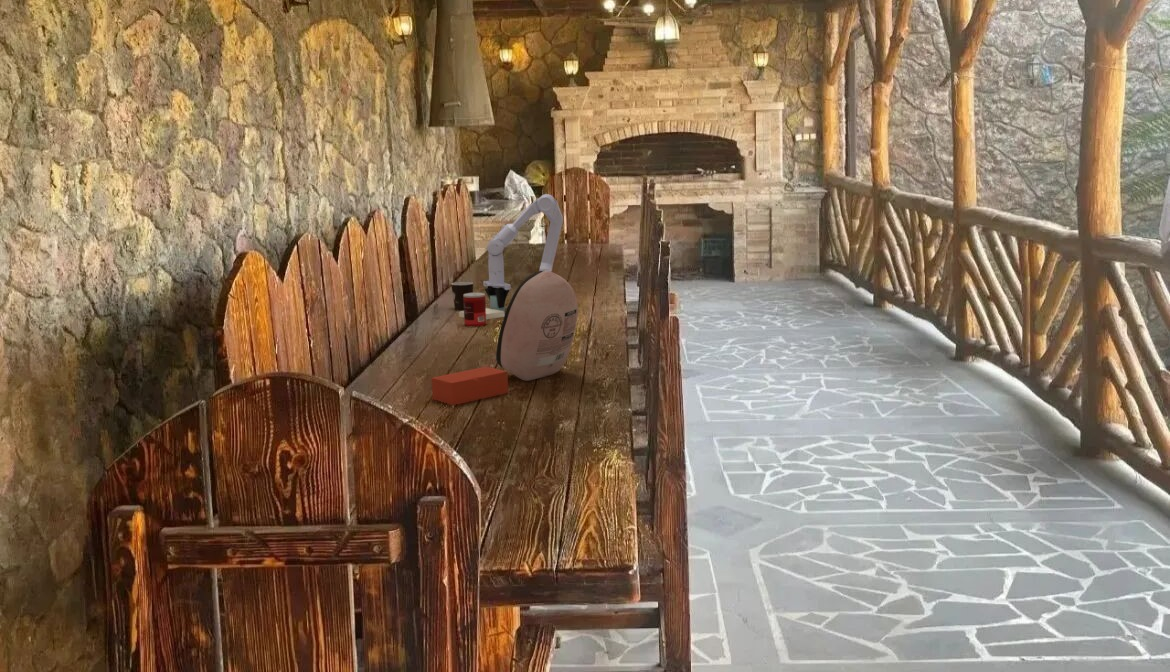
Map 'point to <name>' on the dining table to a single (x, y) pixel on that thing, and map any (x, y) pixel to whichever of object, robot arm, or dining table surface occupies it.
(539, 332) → the packaged food
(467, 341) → the dining table surface
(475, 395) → the brick
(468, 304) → the canned food
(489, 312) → the base tile
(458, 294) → the coffee mug
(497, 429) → the dining table surface
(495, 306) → the block
